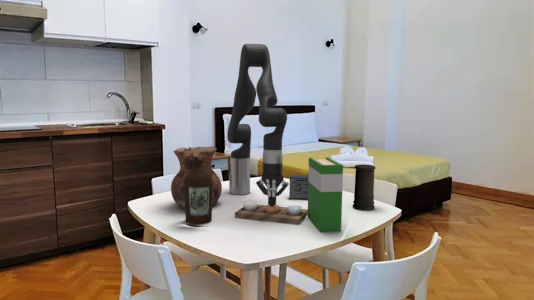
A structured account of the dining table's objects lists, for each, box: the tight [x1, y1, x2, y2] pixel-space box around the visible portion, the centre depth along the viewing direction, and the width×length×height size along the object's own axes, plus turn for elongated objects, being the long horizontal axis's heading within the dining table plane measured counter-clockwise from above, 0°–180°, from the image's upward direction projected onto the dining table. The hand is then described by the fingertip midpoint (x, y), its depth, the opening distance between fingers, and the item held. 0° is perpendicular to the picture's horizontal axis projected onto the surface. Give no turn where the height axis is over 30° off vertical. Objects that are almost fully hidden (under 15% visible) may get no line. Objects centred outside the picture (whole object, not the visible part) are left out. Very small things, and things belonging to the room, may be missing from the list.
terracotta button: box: [265, 204, 280, 214], centre depth 160 cm, size 5×5×2 cm
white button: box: [243, 200, 257, 211], centre depth 163 cm, size 5×5×2 cm
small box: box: [288, 174, 308, 201], centre depth 192 cm, size 11×6×10 cm, turn 84°
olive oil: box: [183, 156, 213, 228], centre depth 153 cm, size 11×11×25 cm
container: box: [352, 164, 376, 211], centre depth 176 cm, size 9×9×18 cm
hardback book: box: [307, 156, 344, 233], centre depth 150 cm, size 18×7×24 cm, turn 8°
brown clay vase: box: [170, 146, 223, 210], centre depth 176 cm, size 22×21×25 cm
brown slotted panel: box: [234, 204, 308, 226], centre depth 161 cm, size 25×14×3 cm, turn 71°
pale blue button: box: [288, 205, 303, 216], centre depth 158 cm, size 5×5×2 cm
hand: (272, 205), depth 160 cm, fingers closed
